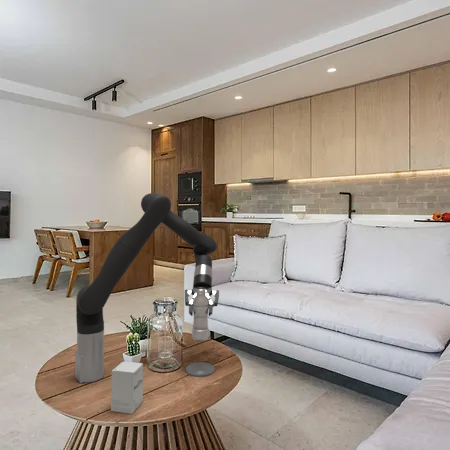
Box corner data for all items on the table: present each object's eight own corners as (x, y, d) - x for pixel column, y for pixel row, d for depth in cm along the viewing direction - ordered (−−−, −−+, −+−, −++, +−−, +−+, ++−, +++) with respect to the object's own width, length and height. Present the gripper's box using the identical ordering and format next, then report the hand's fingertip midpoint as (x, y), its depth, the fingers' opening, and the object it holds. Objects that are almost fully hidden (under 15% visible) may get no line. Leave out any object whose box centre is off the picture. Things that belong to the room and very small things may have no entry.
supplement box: (133, 414, 106) (133, 372, 106) (110, 411, 108) (110, 370, 107) (143, 401, 114) (143, 362, 113) (122, 399, 115) (122, 360, 115)
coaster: (196, 379, 129) (196, 377, 129) (180, 369, 138) (180, 367, 138) (220, 371, 137) (220, 369, 137) (203, 361, 145) (203, 360, 145)
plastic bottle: (189, 338, 139) (189, 287, 138) (205, 336, 141) (206, 286, 141) (194, 344, 133) (195, 291, 132) (211, 341, 135) (212, 289, 135)
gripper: (184, 272, 144) (180, 309, 132) (220, 273, 144) (219, 310, 132) (186, 283, 149) (182, 319, 138) (220, 283, 149) (219, 320, 138)
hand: (200, 314), depth 135 cm, fingers closed on plastic bottle, 6 cm apart
